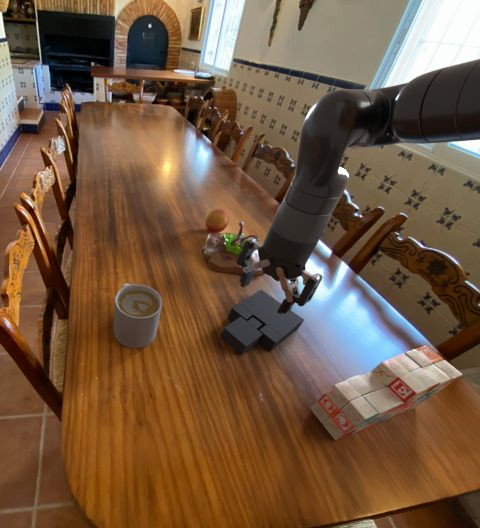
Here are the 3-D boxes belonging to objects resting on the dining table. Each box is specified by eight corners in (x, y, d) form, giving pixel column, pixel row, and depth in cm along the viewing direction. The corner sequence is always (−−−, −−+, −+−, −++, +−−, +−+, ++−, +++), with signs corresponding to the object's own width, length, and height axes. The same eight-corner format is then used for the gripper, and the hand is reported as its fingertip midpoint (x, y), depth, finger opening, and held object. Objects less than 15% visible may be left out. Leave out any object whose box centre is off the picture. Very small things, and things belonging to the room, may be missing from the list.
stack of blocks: (335, 442, 52) (376, 410, 45) (308, 408, 57) (342, 373, 49) (416, 407, 58) (465, 374, 51) (386, 379, 63) (427, 344, 55)
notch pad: (298, 328, 72) (304, 319, 70) (269, 352, 66) (275, 343, 64) (256, 298, 79) (261, 289, 77) (227, 317, 73) (231, 307, 71)
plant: (260, 243, 100) (272, 214, 93) (270, 281, 85) (286, 250, 78) (201, 233, 102) (208, 204, 95) (200, 269, 87) (209, 237, 80)
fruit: (230, 234, 103) (237, 214, 98) (212, 239, 100) (218, 218, 95) (216, 223, 109) (221, 203, 104) (198, 227, 106) (203, 207, 101)
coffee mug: (160, 346, 65) (167, 316, 59) (115, 350, 64) (117, 320, 58) (148, 302, 76) (153, 272, 69) (110, 304, 74) (111, 274, 68)
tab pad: (263, 338, 69) (269, 329, 67) (241, 356, 65) (246, 346, 63) (242, 321, 73) (247, 312, 70) (220, 337, 69) (224, 327, 66)
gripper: (246, 215, 51) (221, 284, 61) (328, 258, 42) (283, 330, 53) (271, 205, 55) (244, 271, 65) (351, 243, 46) (305, 313, 56)
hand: (262, 298), depth 59 cm, fingers open, 8 cm apart
